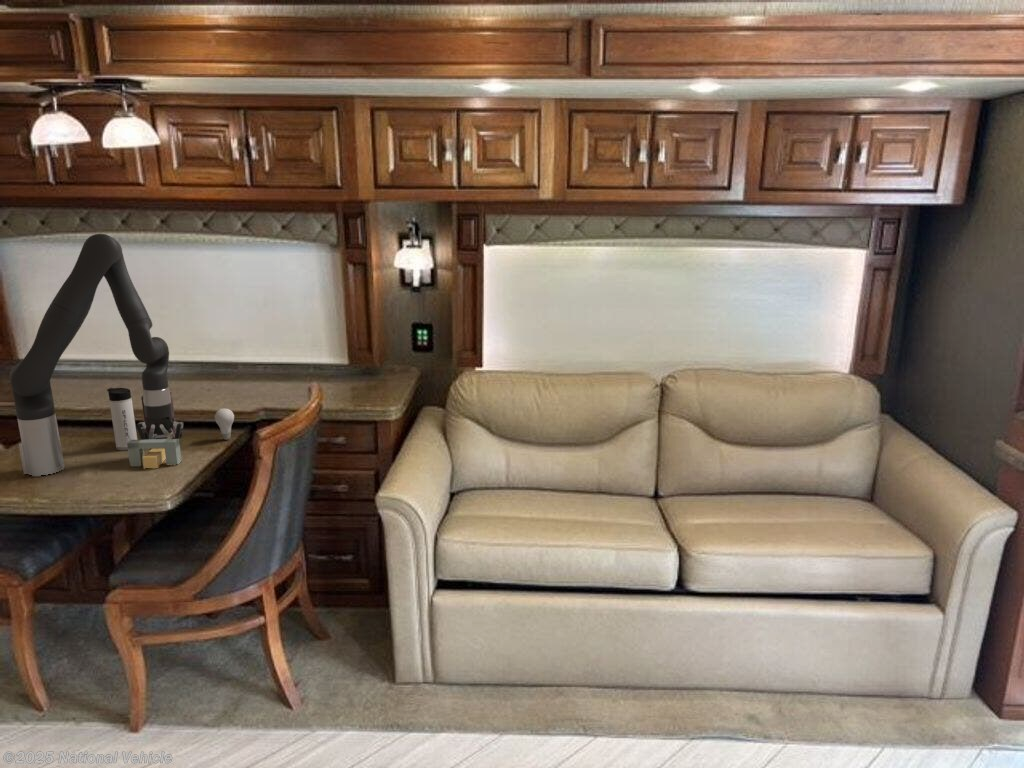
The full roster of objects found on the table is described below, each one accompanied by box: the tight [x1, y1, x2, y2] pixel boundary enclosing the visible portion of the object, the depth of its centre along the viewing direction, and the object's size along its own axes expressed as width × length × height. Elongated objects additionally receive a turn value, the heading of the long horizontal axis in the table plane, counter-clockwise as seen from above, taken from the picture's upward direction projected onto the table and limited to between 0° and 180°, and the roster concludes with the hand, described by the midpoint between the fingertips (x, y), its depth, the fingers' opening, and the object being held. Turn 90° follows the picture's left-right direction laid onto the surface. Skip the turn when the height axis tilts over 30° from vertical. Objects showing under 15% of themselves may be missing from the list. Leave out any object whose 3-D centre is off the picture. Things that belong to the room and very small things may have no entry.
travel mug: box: [106, 387, 138, 451], centre depth 220 cm, size 6×7×20 cm
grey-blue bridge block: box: [127, 439, 182, 467], centre depth 207 cm, size 14×3×8 cm, turn 94°
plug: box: [142, 448, 166, 470], centre depth 210 cm, size 5×14×5 cm, turn 8°
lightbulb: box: [214, 408, 235, 441], centre depth 229 cm, size 6×6×11 cm
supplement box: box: [140, 391, 176, 439], centre depth 229 cm, size 9×5×16 cm, turn 105°
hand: (163, 453), depth 215 cm, fingers closed on plug, 4 cm apart
